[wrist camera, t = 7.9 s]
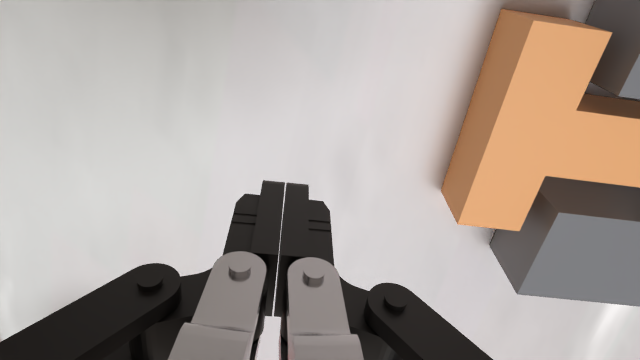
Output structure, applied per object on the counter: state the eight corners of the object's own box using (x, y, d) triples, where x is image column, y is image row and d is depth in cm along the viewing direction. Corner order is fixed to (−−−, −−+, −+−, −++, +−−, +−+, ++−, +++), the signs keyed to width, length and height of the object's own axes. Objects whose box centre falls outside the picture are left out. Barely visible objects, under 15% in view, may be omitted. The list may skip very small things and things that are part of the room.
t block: (501, 8, 23) (533, 20, 20) (699, 39, 24) (763, 55, 21) (440, 190, 29) (457, 224, 26) (601, 209, 30) (639, 244, 27)
